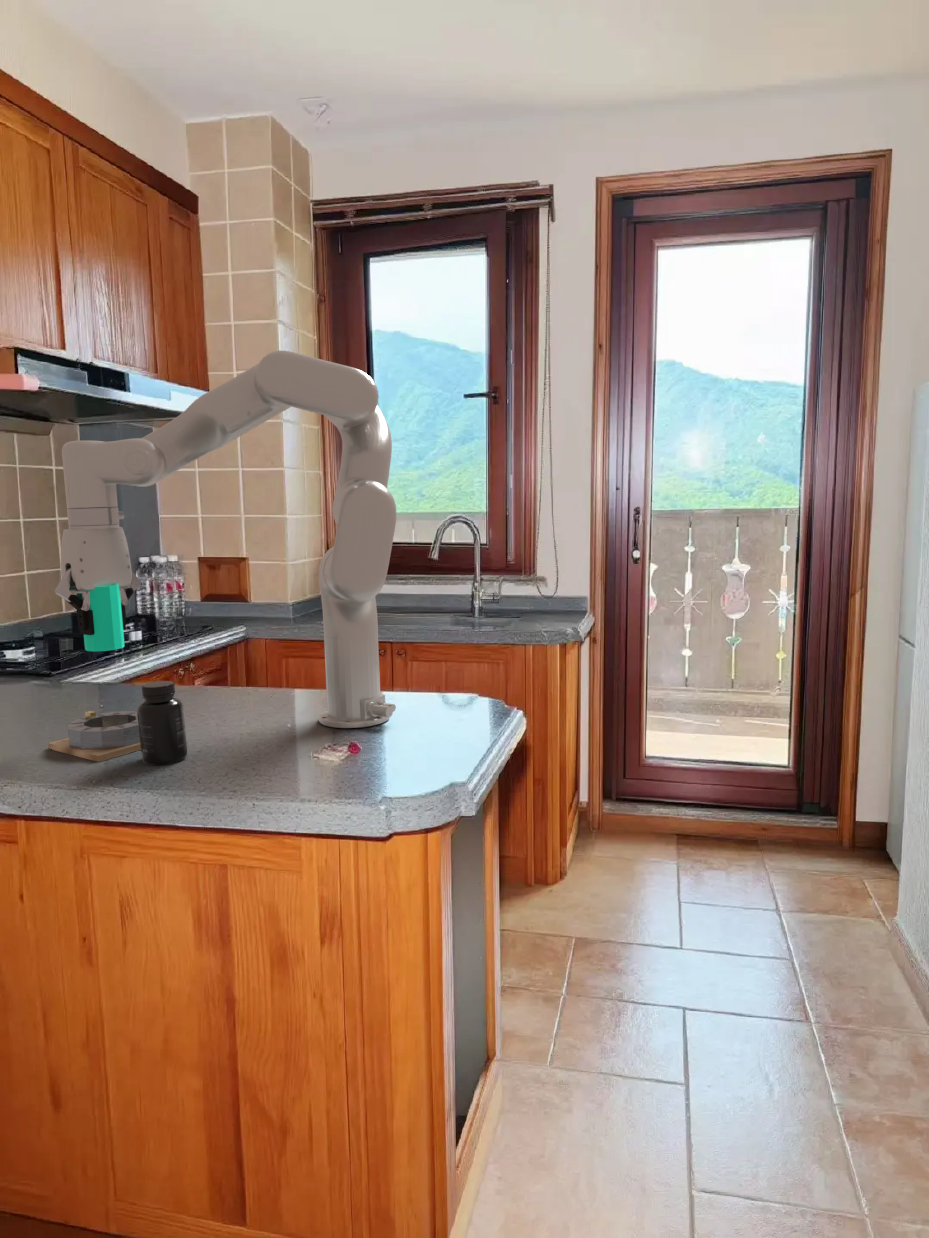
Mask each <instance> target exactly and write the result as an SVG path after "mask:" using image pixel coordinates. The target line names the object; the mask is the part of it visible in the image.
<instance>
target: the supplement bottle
mask: <svg viewBox="0 0 929 1238" xmlns="http://www.w3.org/2000/svg"><path fill="white" fill-rule="evenodd" d="M175 687H176V685H175V682H174V681H171V680H160V681H159V680H158V681H151V682H147V683H144V684H143V685H142V684H141V697H142V699H143V701H141V702H140V703H139V705H138V706H137V710H136V711H137V716H138V726H139V736H140V746H141V750H140V753H141V754H140V755H141V760H142V762H143V763H145V764H147V765H151V766H152V765H153V766H163V765H169V764H173V763H177V762H181V761H182V760H184V759H186V757H187V756H188V741H187V731H186V721H185V711H184V704H183V702H182V701H181V700H180V699H179V698H177V697H175V695H176V693H177V692H176V688H175Z"/></svg>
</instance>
